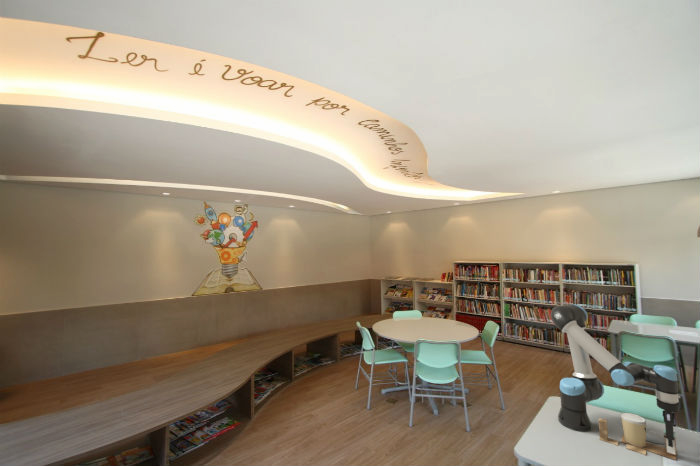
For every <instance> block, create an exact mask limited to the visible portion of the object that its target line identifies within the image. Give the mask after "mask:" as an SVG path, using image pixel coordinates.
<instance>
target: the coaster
mask: <svg viewBox="0 0 700 466" xmlns="http://www.w3.org/2000/svg"><path fill="white" fill-rule="evenodd" d="M646 442H648V443H651V444H655V445H657V444H658V445H665V438H664V435H661V434H659V433H657V432H654V431H651V430H648V429H646Z"/></svg>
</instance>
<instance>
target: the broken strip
mask: <svg viewBox="0 0 700 466" xmlns="http://www.w3.org/2000/svg"><path fill="white" fill-rule="evenodd" d="M598 428H599V429H598V430H599V433H598V434H599V440H600V441H603V442H606V443H609V444H612V445H615V446H617V447H618V446H619V444H620V443H619V440H616V439H613V438H610V437H609V433H608V432H609V429H608V420H607V419H604V418H601V417H599V418H598ZM625 449H626V450H628V451H632V452H634V453H638V454H640V455H644V456H647V451H646V450H644V449H641V448H638V447H635V446H632V445H629V444H625Z"/></svg>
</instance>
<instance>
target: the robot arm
mask: <svg viewBox="0 0 700 466" xmlns="http://www.w3.org/2000/svg"><path fill="white" fill-rule="evenodd" d="M588 316H589V315H588V313H587V311H586V309H584V307H582V306H581V305H579V304H577V303H576V304H574V303H572V304H571V303H569V304H568V303H567V304H564V305H563V304H562V305H557V306H555V307H553V308H552V309H551V310H550V318H551V321H552V322H553V324H554V325H555V326H556V327H557V328H558V329H559V330H560V331H561V332H562V333H564V334H565V333H566V335H567V340H568V346H569V351H570V354H571V360H572V363H573V364H572V365H573V370H574V372H572V374H571V375H572V377H563V378H562V379H561V380H560V381H559V390H560V391H559V395H560V396H559V397H560V409H559V412H558V415H557V420H558V422H559V423H560V424H561V425H562V426H564V427H566V428H568V429H570V430H572V431H573V430H574V431H578V432H590V431H592V429H593V428H592V427H593V426H592V421H591V419H590V417H589V415H588V411H587V403H590V402H593V401H596V400H599V399H600V398H602V397H603V396H604V394H605V388H604V385H603V382H602V381H600V379H599V378H598V375H597V374H595V373H594V371H593V368H592V363H591V359H590V357H592V358H593V359H595V360H596V361H597V363H599V364H600V365H601V366H602V367H603V368H604V369H606V371H608V372H609V374H610V377H611V379H612V381H613V382H614V383H615V384H616V385H618V386H621V387H628V386H632V385H634V384H637V383H640V382H644V383H648V384H653V385H654V386H655V397H656V406H657V407H658V408H659V409H661V410H662V417H663V423H664V425H665V426H664V427H665V428H664V429H666V436H665V435H663V437H664V438H666V446H667V452H668V453H671V454H675V455H676V453H675V441H674V434H673V432H675V427H676V424H675V413H679V412H680V403H679V402H680V401H679V399H681V396H680V395H679V388H678V387H679V386H678V377H677V372H676V370H675V369H674V368H673V367H671V366H666V365H662V364H656V365H654V366H653V367H651V366H648V365H647V366H646V365H643V364H639V363H636V362H631V361H625V362H621V361H620V360H619V359H618V358H617V357H616V356H614V354H612V353H611V352H609V350H607V349H606V348H605V346H603V345H602V344H600V343H599V342H598V341H597V340H596V339H595V338H594V337H592V336H591V335H590V334H589V333H588V332H587V331H585V329H586V328H587V325H586V322H587V320H588Z"/></svg>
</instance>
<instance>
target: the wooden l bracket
mask: <svg viewBox="0 0 700 466" xmlns="http://www.w3.org/2000/svg"><path fill="white" fill-rule="evenodd" d="M673 434H674V441H675V453H676V455H675V454H671V453H668V452H667V446H666V438H665V444H664V447H663V446H661V445H659V444H658V445H657V444H656V443H652V442H649V441H646V446H644V447H639V446H635V445H632V444H630V443H628V442H627V441H626V440H625V437H624V434H622V435H621V441H620V442H621V443H622V444H625V445H626V444H629V445H632V446H635V447H638V448H641V449H644V450H646V452H650V453H652V454H655V455H659V456H662V457H665V458H668V459H671V460H673V461H677V457H678V456H677V455H678V453H677V441H676V438H677V436H676V434H677V433H676V432H675V431H674V432H673ZM663 436H666V428H664V429H663Z"/></svg>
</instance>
